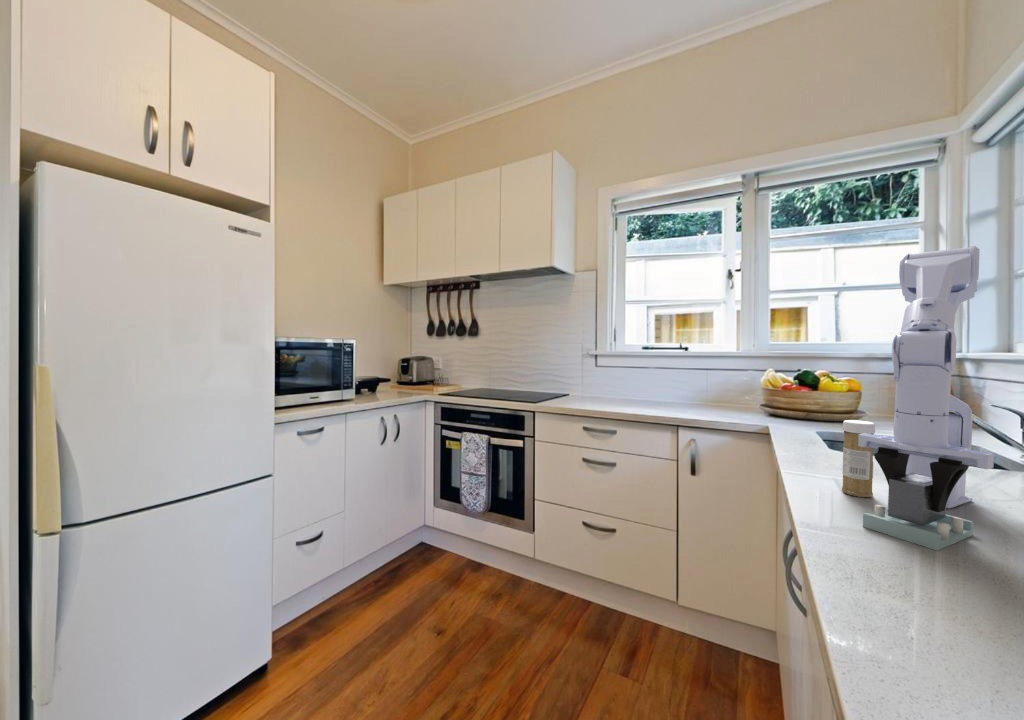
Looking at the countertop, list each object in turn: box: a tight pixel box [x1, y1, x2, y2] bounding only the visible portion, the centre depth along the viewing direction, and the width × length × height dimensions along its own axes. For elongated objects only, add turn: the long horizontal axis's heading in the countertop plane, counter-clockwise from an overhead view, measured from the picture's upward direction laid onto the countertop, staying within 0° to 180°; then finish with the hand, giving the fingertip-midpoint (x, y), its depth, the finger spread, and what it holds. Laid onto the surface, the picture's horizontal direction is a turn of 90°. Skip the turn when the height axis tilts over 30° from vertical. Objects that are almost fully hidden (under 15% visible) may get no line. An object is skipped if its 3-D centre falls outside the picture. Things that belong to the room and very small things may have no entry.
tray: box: [862, 504, 974, 552], centre depth 63 cm, size 11×8×3 cm
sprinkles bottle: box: [841, 419, 876, 498], centre depth 79 cm, size 5×5×13 cm
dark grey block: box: [887, 473, 947, 526], centre depth 63 cm, size 7×4×6 cm, turn 116°
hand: (917, 505), depth 63 cm, fingers closed on dark grey block, 4 cm apart
